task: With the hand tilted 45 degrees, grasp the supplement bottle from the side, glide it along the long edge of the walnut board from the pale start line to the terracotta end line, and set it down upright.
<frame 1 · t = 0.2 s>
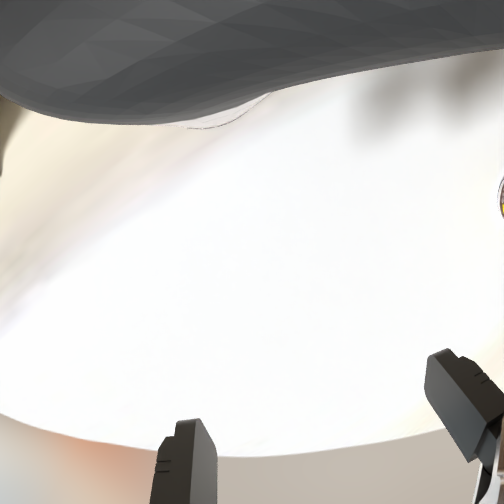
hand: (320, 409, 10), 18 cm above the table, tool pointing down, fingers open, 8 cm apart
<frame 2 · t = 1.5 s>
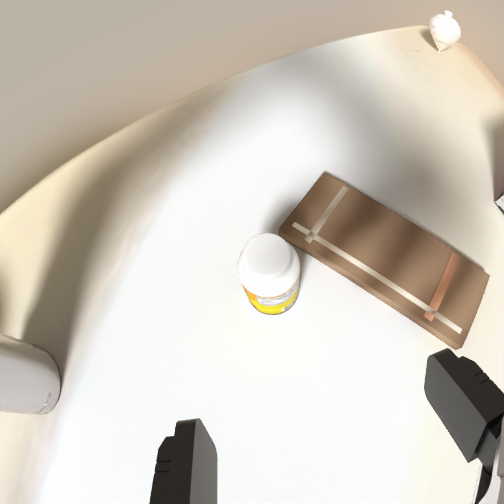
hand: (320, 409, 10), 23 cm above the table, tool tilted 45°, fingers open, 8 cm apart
supplement bottle: (273, 292, 35), on the table
spinning top: (438, 53, 54), on the table
walnut board: (390, 259, 35), on the table
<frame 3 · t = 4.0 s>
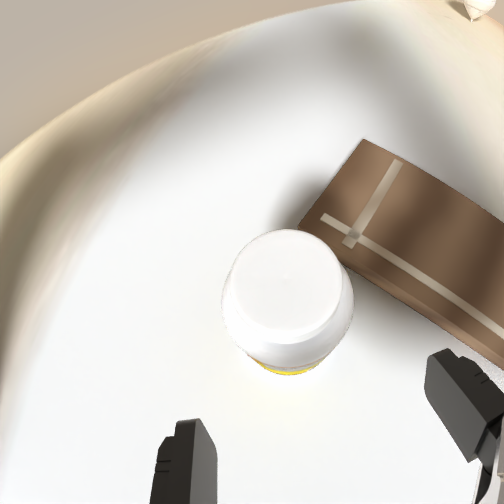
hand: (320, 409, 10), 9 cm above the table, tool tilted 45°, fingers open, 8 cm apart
supplement bottle: (289, 334, 20), on the table
spinning top: (470, 22, 38), on the table
walnut board: (468, 272, 20), on the table
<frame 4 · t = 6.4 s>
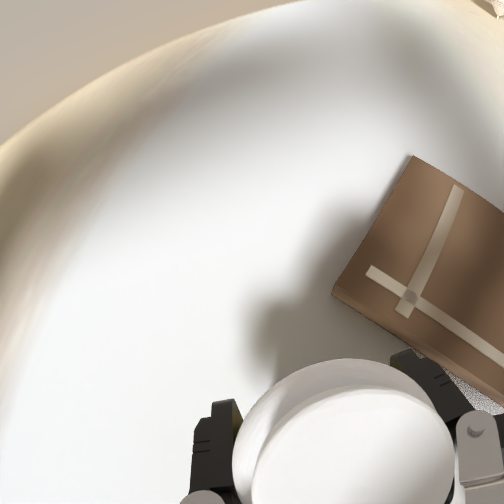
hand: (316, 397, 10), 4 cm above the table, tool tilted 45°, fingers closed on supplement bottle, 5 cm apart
supplement bottle: (318, 429, 14), on the table, touching gripper
spinning top: (496, 20, 32), on the table
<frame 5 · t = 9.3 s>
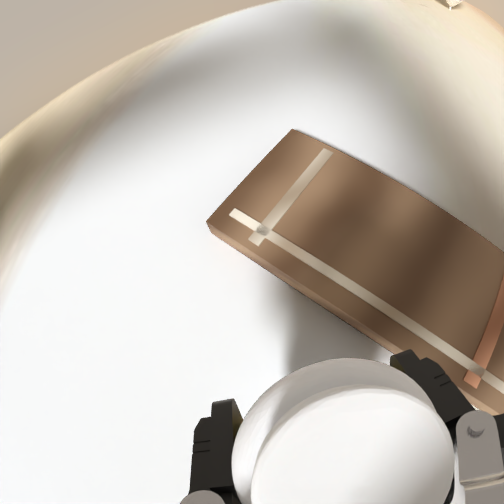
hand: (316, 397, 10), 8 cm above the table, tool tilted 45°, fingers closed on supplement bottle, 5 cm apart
supplement bottle: (318, 429, 14), point 3 cm above the table, touching gripper
spinning top: (449, 10, 38), on the table
walnut board: (406, 273, 19), on the table
when the fingers open (6 cm above the table, at t = 12.1 s): supplement bottle drops 1 cm, on the table.
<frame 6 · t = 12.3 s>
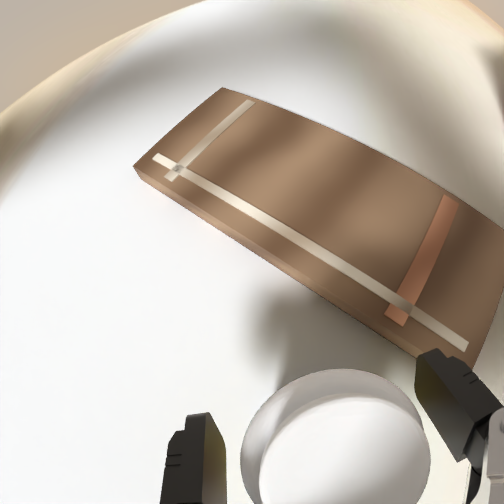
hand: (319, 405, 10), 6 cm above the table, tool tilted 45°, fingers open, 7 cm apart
supplement bottle: (316, 429, 15), on the table
walnut board: (323, 207, 20), on the table
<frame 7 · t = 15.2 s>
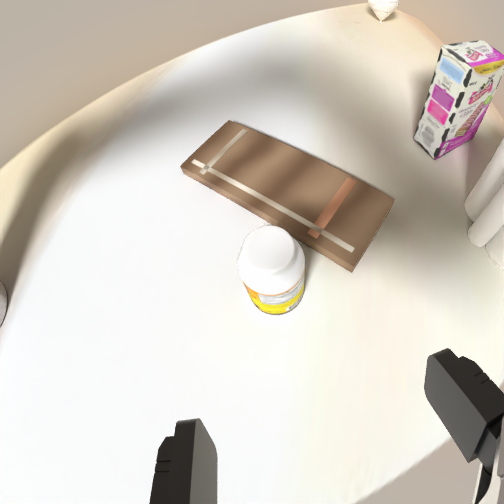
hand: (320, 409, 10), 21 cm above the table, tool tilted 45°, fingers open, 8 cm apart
vase: (490, 235, 32), on the table
supplement bottle: (276, 291, 33), on the table
spinning top: (380, 23, 57), on the table
walnut board: (282, 186, 39), on the table
candy bar box: (445, 140, 40), on the table
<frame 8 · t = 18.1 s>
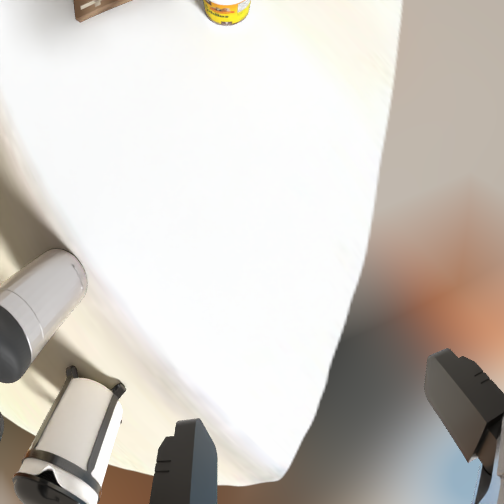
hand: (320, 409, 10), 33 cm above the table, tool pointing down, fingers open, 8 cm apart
coffee press: (97, 398, 50), on the table
supplement bottle: (227, 10, 32), on the table
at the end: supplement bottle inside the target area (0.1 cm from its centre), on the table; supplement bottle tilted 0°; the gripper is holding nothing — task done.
